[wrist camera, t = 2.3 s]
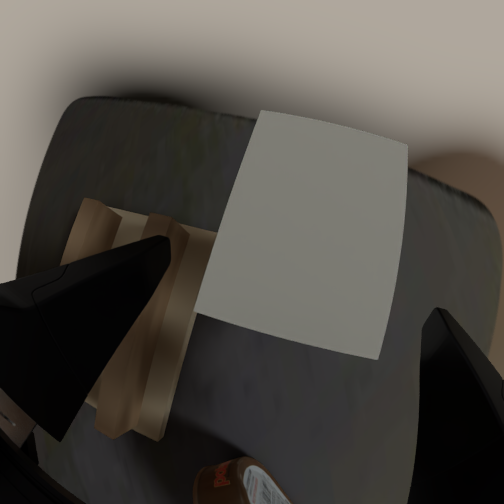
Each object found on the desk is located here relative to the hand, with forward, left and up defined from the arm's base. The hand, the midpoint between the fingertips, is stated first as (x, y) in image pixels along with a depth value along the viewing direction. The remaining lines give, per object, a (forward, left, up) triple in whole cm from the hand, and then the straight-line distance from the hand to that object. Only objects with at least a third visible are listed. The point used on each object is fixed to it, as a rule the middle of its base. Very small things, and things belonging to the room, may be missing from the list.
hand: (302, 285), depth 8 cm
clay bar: (+1, 0, -8) cm, 8 cm away
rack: (-2, +11, -8) cm, 14 cm away
